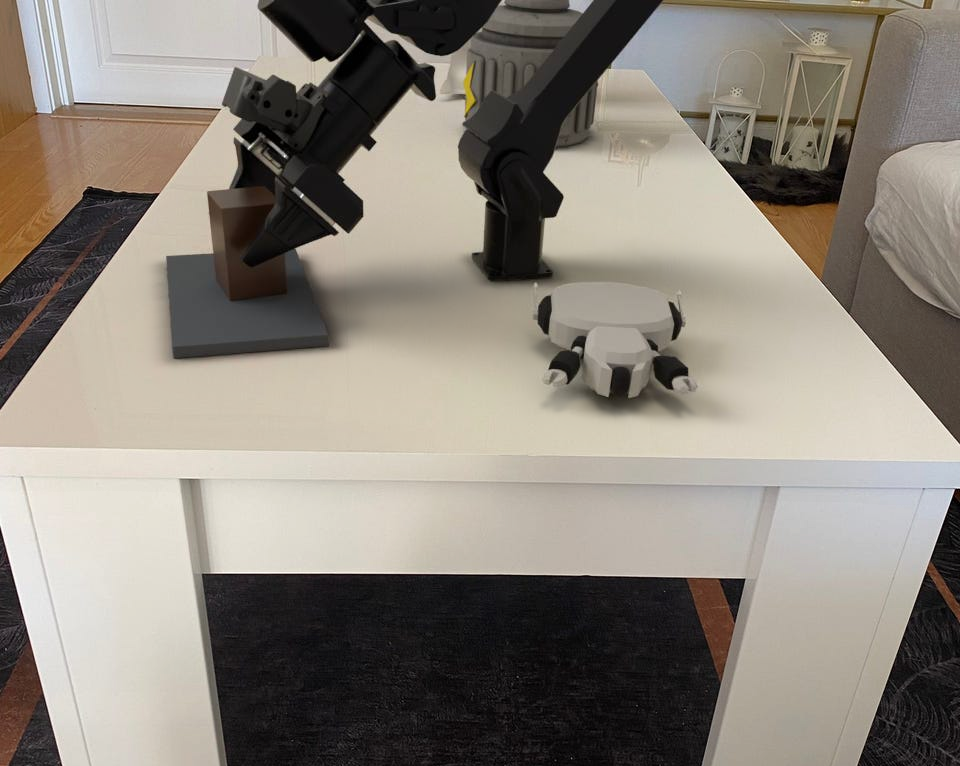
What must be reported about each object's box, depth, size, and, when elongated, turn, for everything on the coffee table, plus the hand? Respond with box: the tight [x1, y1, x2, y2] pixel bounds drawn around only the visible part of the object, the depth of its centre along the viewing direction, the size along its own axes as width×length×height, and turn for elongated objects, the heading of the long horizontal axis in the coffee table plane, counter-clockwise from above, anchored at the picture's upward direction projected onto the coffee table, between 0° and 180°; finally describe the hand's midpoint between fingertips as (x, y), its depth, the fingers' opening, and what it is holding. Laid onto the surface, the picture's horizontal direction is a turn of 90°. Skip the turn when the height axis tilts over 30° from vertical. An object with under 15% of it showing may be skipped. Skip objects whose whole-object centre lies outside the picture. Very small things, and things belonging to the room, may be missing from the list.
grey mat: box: [165, 248, 330, 359], centre depth 85 cm, size 20×12×1 cm, turn 16°
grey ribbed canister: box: [463, 0, 600, 148], centre depth 134 cm, size 19×19×30 cm
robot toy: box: [532, 281, 698, 399], centre depth 77 cm, size 12×4×15 cm
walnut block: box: [206, 186, 287, 301], centre depth 84 cm, size 5×5×8 cm
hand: (231, 245), depth 83 cm, fingers open, 9 cm apart
